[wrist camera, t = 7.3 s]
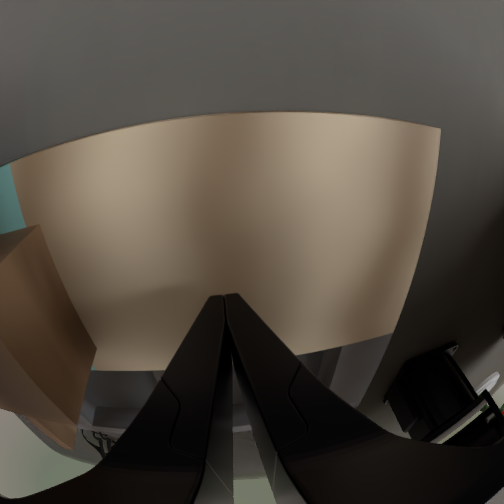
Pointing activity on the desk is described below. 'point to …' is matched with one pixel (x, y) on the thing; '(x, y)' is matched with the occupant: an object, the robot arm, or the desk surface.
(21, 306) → the walnut block
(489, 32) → the desk surface
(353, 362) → the compartment tray
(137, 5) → the desk surface
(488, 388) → the monster figurine
